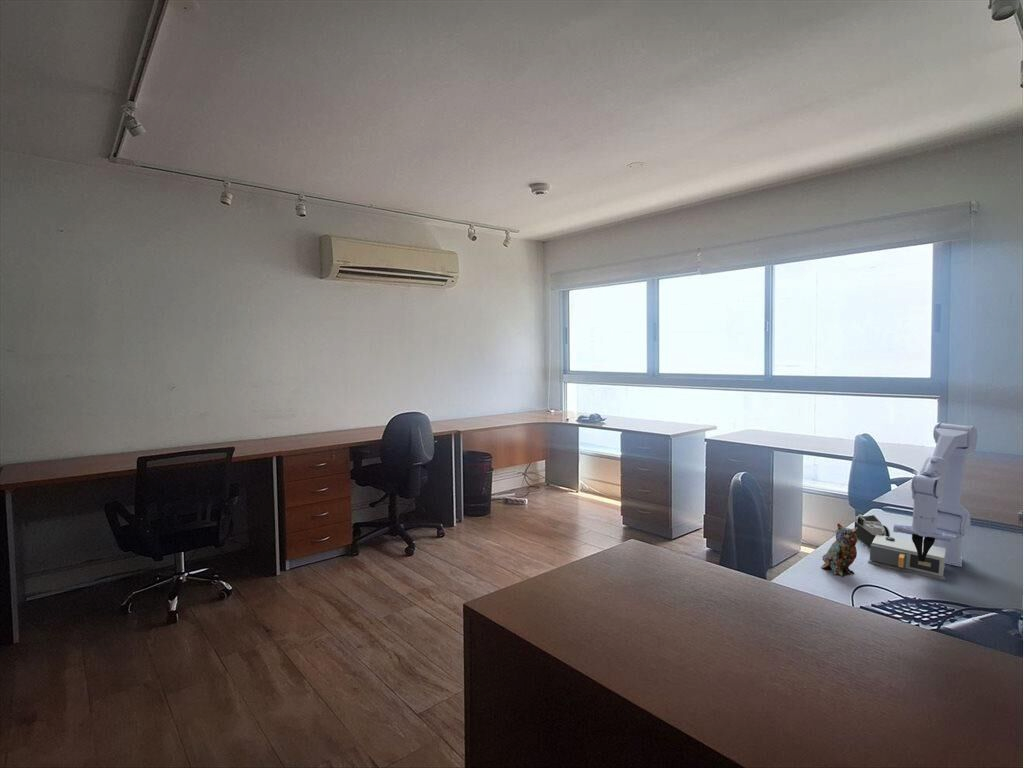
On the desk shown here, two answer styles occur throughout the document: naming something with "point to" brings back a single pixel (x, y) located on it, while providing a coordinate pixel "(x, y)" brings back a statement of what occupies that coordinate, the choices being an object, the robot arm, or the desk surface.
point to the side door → (888, 556)
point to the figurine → (841, 552)
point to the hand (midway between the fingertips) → (921, 560)
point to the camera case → (914, 557)
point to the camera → (869, 529)
